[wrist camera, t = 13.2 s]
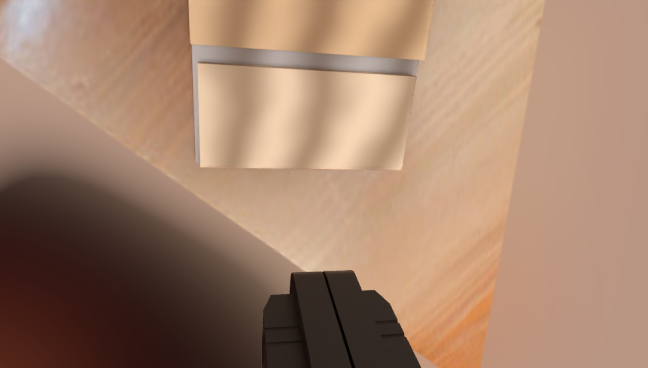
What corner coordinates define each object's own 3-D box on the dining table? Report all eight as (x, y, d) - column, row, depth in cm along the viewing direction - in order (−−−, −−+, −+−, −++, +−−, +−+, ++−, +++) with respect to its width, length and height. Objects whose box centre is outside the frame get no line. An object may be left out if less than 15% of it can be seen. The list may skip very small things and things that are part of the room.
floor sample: (197, 158, 38) (194, 168, 36) (189, -72, 31) (185, -77, 29) (396, 162, 42) (405, 171, 40) (429, -43, 35) (442, -45, 33)
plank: (201, 162, 37) (200, 167, 36) (198, 61, 34) (197, 63, 33) (397, 165, 40) (401, 170, 39) (411, 74, 37) (416, 76, 36)
